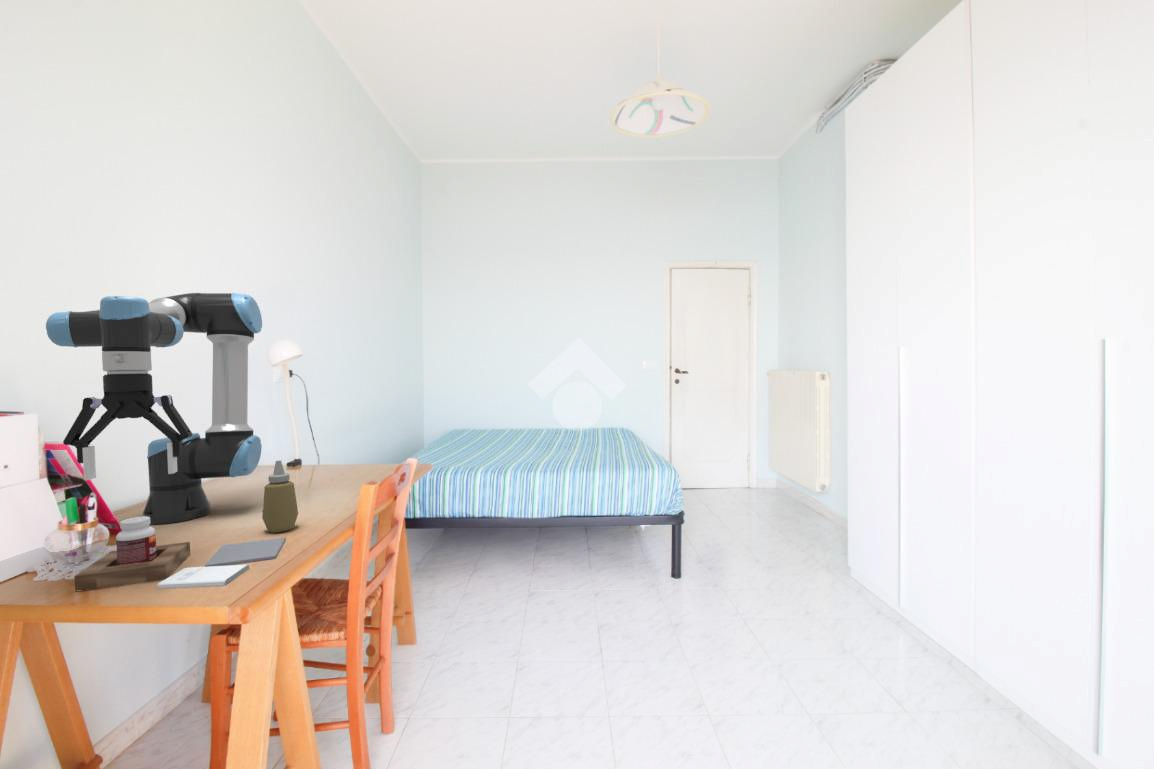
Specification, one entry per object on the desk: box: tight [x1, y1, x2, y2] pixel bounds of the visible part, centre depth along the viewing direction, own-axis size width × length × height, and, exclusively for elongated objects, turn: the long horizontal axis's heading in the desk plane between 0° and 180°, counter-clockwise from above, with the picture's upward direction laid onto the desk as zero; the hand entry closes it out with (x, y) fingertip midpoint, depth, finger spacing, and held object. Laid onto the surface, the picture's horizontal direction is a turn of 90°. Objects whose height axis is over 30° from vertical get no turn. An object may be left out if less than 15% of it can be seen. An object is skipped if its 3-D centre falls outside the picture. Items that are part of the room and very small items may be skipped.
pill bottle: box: [115, 515, 157, 566], centre depth 104 cm, size 6×6×11 cm
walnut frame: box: [73, 541, 191, 592], centre depth 104 cm, size 14×14×3 cm
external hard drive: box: [156, 564, 250, 589], centre depth 101 cm, size 2×8×12 cm
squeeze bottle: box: [261, 460, 299, 533], centre depth 130 cm, size 8×8×18 cm
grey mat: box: [203, 536, 287, 567], centre depth 114 cm, size 13×13×1 cm
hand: (132, 476), depth 103 cm, fingers open, 13 cm apart
